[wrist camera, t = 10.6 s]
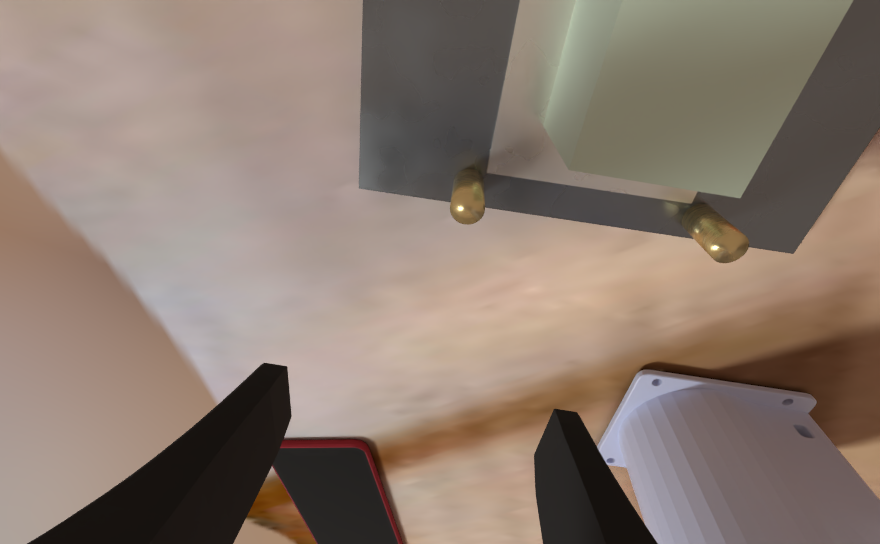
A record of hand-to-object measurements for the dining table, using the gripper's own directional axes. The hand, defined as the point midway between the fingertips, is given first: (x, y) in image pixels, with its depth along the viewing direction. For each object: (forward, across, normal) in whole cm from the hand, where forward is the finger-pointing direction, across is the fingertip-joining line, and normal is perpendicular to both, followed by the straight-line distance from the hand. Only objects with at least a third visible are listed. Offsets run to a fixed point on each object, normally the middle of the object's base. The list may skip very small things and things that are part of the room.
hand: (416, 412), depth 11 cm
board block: (+8, -5, -10) cm, 14 cm away
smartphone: (+10, +4, +23) cm, 26 cm away
